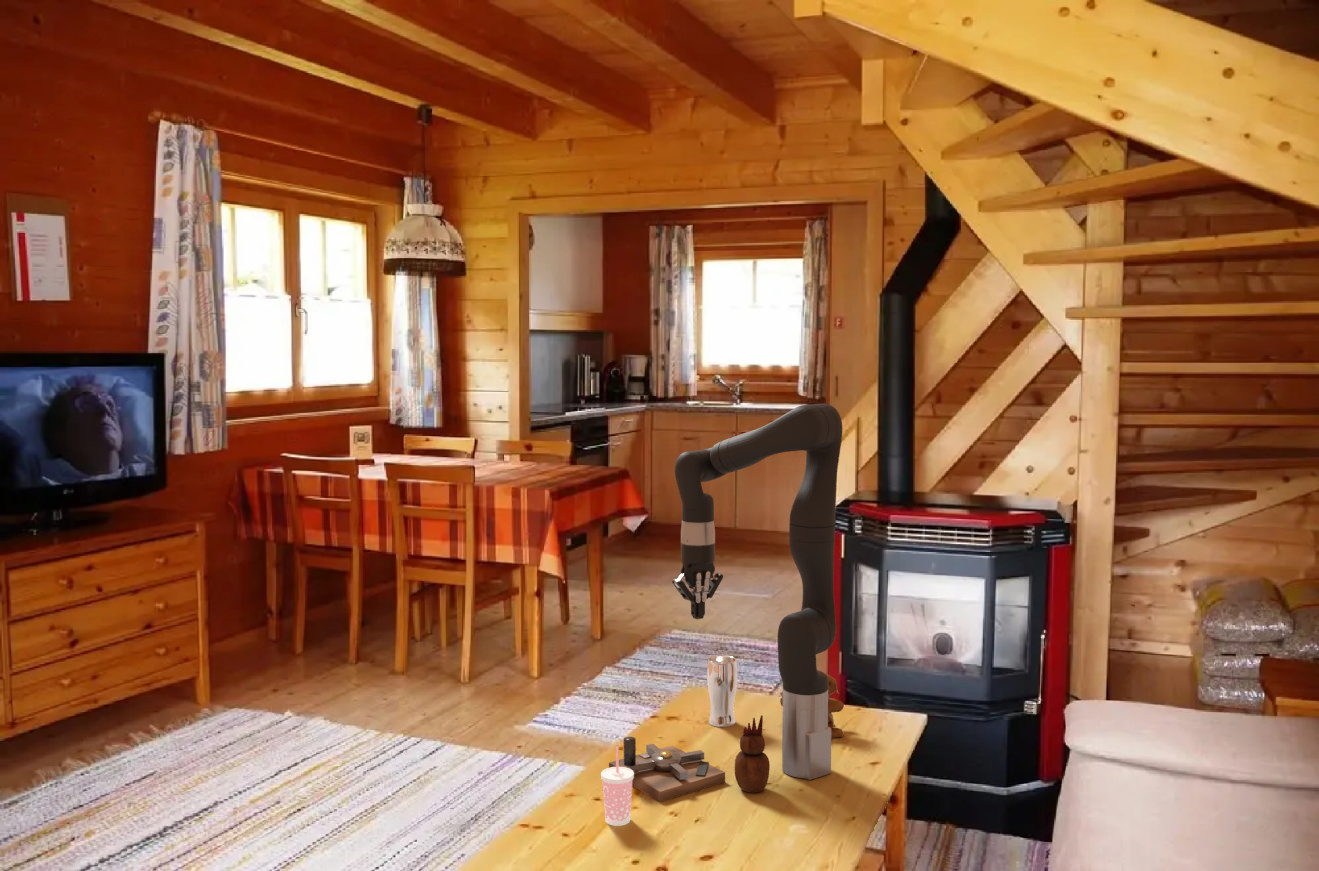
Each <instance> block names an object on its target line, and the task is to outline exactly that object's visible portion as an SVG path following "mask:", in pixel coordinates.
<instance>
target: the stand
mask: <svg viewBox="0 0 1319 871" xmlns="http://www.w3.org/2000/svg"><path fill="white" fill-rule="evenodd" d="M659 749H660V750H662V751H672V752H676V753H678V754H681V753H687V752H686V751H684V750H682V749H679V748H677V747H675V746H674V745H670V746H665V747H662V748H659ZM647 759H651V755H650V754H649V753H648V752H643V753H640V754H636V761H642V760H647ZM611 767H616V760H614V761H609V762H608V768H611ZM619 767H626V768H627V766H625V765H624V758H621V759H620V758H619ZM681 767H683V768H684V769H685V770H686V771H687V779H682V780H680V779H679V778H677V777H676V776H675V775H674V774H673V773H671V772H670V771H667V772H665V771H658V770H655V769H648V770H642V771H637V772H634V778H633V780H632V787H634V788H636V789H637V790H639V791H641V792H643V793H644V794H646V795H647V796H650V797H651V798H653V799H655V800H656V801H658V802H659V803H661V802H664V801H667V800H670V799H673V798H677V797H680V796H684V795H687V794H690V793H693V792H697V791H701V790H704V789H706V788H710V787H713V786H714V787H715V786H717V785H720V784H724V783H726V772H725V771H723V770H721V769H720V768H717V767H715V766H713V765H711V764H710V762H709V761H703V760H698V761H692V762H687V763H681Z"/></svg>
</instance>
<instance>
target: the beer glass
mask: <svg viewBox="0 0 1319 871" xmlns="http://www.w3.org/2000/svg"><path fill="white" fill-rule="evenodd" d="M737 665H738V664H737V658H736V657H734V656H730V655H724V654H723V655H722V654H721V655H713V656H709V657H708V659H707V669H706V670H707V671H706V672H707V673H706V681H707V683H706V684H707V691H708V695H709V701H710V711H709V712H710V714H709V718H708V723H709V725H711V726H713V727H717V728H729V727H732V726H734V725H735V724H736V718H735V712H734V710H735V709H734V707H735V705H734V704H735V698H736V693H737V686H738V666H737Z"/></svg>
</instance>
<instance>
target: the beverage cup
mask: <svg viewBox="0 0 1319 871" xmlns="http://www.w3.org/2000/svg"><path fill="white" fill-rule="evenodd" d="M619 752H620V751H619V746H618V745H617V746H615V761H616V767H611V768H609V767H607V768H605V769H603V770H602V771H601V772H600V778H601V781H602V791H603V806H604V820H605V823H606V824H607V825H610V826H615V827H620V826H626V825H627V824H630V822H631V811H632V798H633V797H632V796H633V795H632V794H633V786H632V780H633V778H634V772H633V770H631V769H629V768H626V767H619V760H620V758H619V756H620V755H619Z"/></svg>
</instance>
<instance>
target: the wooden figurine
mask: <svg viewBox="0 0 1319 871" xmlns="http://www.w3.org/2000/svg"><path fill="white" fill-rule="evenodd" d="M763 717H764V716H763V715H760V717H759V718H760V719H759V722H758V725H757V723H756V718H755V717H752V724H751V723H750V722H748V723H747V726H744V728H743V733H742V735H740V738H739V748H740V751H739V752H738V753H737V754H736V756H735V760H734V775H735V781H736V783H737V785H738V787H739V788H740V789H741V790H743V791H744V792H748V793H751V794H753V793H760V792H762V791H764V789H765V788H766V787H767V785H768V782H769V778H770V770H771V769H770V763H771V762H770V759H769V756H768V755H767V754H766V753H764V751H765V748H766V742H765V738H764V736H763V725H764V724H763V722H764V721H763ZM751 725H752V726H751Z"/></svg>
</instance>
